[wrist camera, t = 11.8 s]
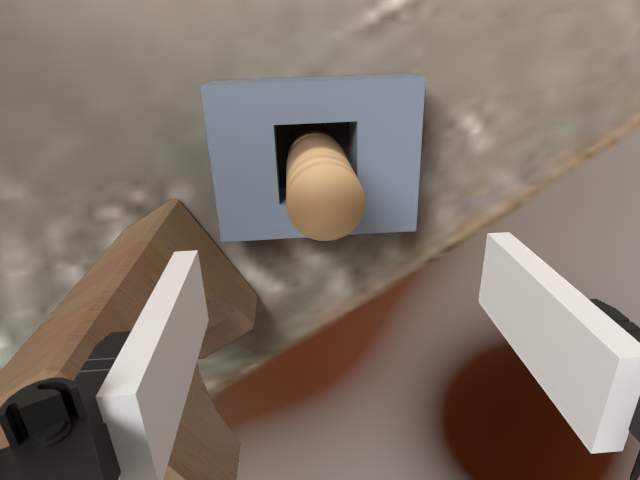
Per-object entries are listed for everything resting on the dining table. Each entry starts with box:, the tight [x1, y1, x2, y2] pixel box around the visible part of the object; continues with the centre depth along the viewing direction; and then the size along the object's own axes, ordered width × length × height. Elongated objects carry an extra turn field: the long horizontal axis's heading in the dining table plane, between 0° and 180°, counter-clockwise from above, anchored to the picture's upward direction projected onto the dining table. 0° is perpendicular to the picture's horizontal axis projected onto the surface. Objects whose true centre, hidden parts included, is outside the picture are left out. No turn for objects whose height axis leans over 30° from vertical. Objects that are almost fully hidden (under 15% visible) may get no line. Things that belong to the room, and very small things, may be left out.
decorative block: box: [0, 199, 258, 480], centre depth 27 cm, size 11×6×20 cm, turn 31°
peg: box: [286, 127, 366, 241], centre depth 28 cm, size 4×4×12 cm
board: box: [200, 73, 426, 242], centre depth 31 cm, size 10×14×4 cm
